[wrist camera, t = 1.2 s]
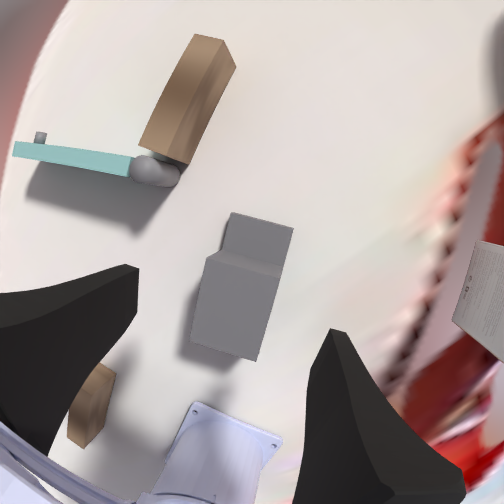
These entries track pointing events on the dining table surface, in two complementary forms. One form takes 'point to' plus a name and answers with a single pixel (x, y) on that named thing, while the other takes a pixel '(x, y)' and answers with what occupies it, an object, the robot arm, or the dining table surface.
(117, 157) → the door
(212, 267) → the door stop
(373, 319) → the dining table surface
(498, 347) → the small box
